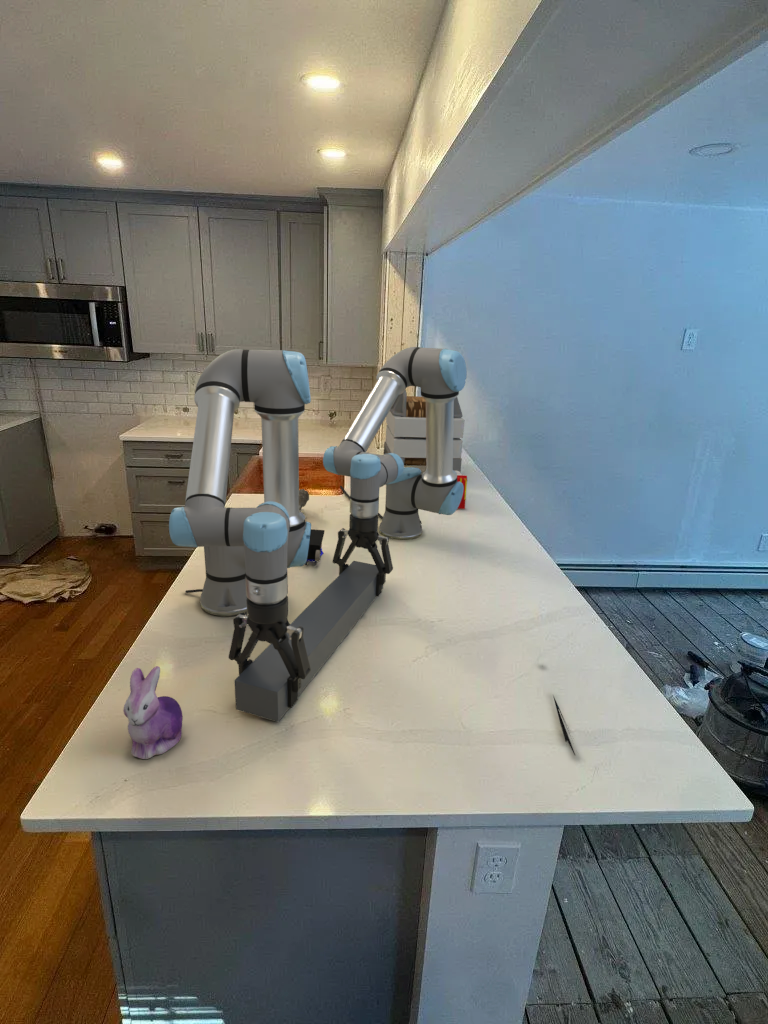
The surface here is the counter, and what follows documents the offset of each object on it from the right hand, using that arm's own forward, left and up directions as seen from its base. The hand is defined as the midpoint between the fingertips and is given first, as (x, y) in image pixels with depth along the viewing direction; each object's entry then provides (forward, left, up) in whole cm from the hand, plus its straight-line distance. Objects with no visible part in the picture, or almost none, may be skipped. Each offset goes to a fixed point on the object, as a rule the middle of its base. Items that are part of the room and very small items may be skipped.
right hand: (361, 590), depth 155 cm
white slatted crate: (-80, +100, -2) cm, 128 cm away
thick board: (+12, -21, -1) cm, 25 cm away
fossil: (-64, +17, -2) cm, 66 cm away
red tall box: (-46, +83, -2) cm, 95 cm away
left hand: (+24, -42, 0) cm, 49 cm away
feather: (+60, +2, -2) cm, 60 cm away
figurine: (+21, -64, -2) cm, 67 cm away
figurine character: (-28, +2, -2) cm, 28 cm away
